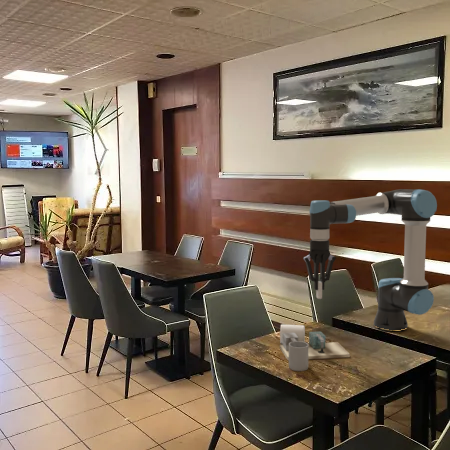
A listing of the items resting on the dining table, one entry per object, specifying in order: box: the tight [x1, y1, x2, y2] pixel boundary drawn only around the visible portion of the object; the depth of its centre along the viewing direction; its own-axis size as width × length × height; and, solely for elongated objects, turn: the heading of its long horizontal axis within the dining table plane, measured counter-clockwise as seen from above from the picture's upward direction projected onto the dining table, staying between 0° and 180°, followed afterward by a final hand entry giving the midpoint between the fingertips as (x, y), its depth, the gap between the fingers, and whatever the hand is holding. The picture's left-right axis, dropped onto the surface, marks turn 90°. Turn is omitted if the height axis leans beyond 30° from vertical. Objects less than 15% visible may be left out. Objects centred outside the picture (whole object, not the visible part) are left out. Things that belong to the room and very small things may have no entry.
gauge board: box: [279, 333, 351, 361], centre depth 197 cm, size 25×14×6 cm, turn 96°
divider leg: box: [308, 331, 326, 351], centre depth 198 cm, size 5×10×5 cm, turn 6°
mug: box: [279, 324, 306, 345], centre depth 209 cm, size 12×10×8 cm
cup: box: [288, 341, 309, 372], centre depth 182 cm, size 7×10×9 cm
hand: (319, 297), depth 195 cm, fingers closed
